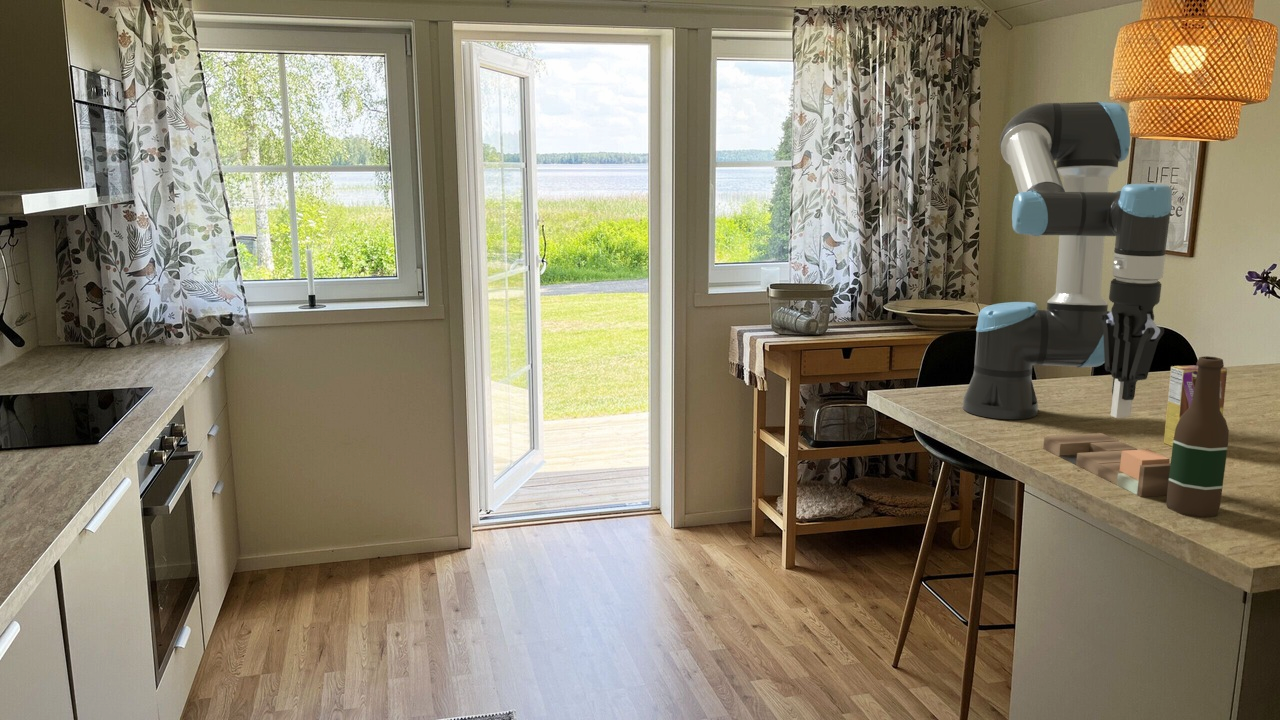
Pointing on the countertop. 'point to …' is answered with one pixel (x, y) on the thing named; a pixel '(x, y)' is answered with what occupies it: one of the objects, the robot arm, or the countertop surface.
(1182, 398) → the candy box
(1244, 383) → the countertop surface
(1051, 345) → the robot arm
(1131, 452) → the block
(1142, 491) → the board
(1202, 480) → the beer bottle
